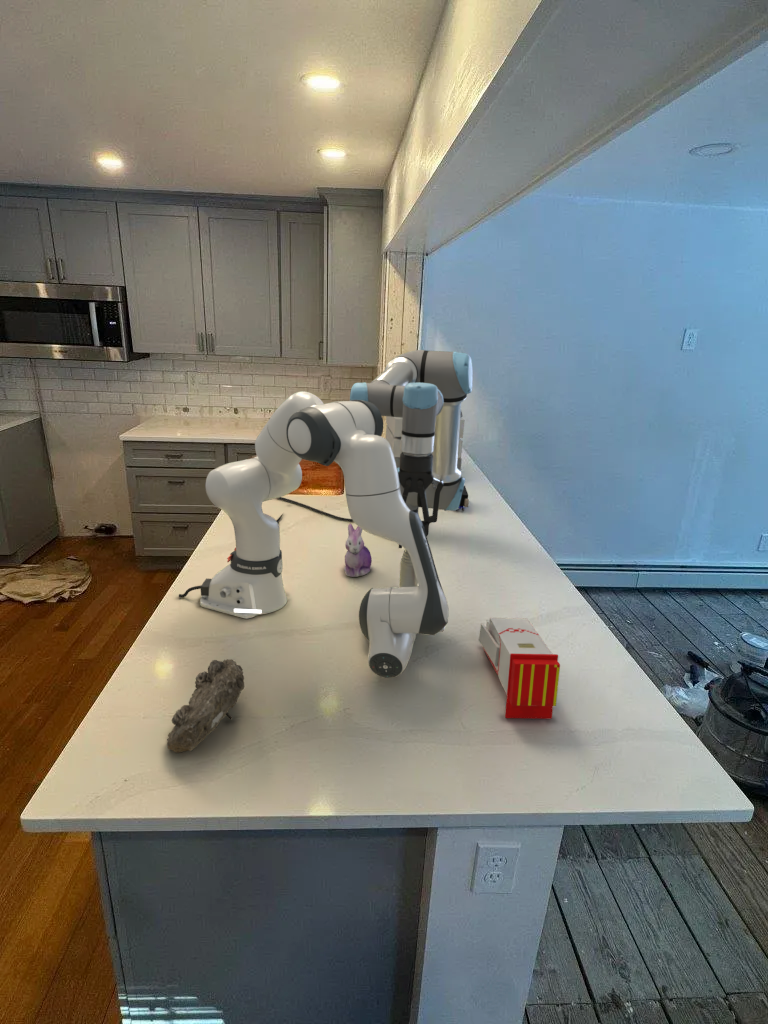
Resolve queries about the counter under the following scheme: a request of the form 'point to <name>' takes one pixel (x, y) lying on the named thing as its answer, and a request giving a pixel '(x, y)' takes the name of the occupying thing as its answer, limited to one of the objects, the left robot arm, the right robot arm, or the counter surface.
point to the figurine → (356, 554)
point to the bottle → (407, 572)
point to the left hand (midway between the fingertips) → (407, 598)
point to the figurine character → (464, 499)
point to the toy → (522, 666)
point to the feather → (279, 518)
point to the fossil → (206, 705)
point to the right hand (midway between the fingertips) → (410, 546)
